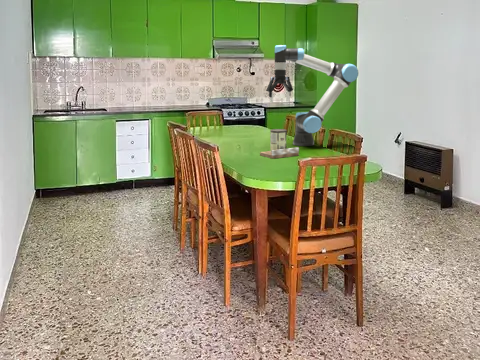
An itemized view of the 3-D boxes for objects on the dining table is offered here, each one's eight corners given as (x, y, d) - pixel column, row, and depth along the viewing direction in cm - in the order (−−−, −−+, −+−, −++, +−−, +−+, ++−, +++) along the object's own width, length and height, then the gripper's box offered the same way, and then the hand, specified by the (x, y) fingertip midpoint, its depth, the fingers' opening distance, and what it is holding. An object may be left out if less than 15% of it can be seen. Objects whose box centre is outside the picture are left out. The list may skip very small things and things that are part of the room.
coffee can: (276, 150, 326) (276, 128, 323) (289, 151, 320) (289, 129, 317) (266, 152, 318) (266, 130, 315) (280, 154, 312) (280, 131, 309)
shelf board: (285, 152, 330) (285, 144, 329) (298, 155, 318) (299, 147, 317) (260, 155, 320) (260, 147, 318) (273, 158, 308) (273, 150, 307)
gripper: (291, 69, 341) (291, 100, 346) (261, 69, 329) (261, 102, 334) (298, 69, 335) (298, 101, 340) (267, 69, 323) (267, 103, 327)
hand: (279, 101), depth 337 cm, fingers open, 13 cm apart
